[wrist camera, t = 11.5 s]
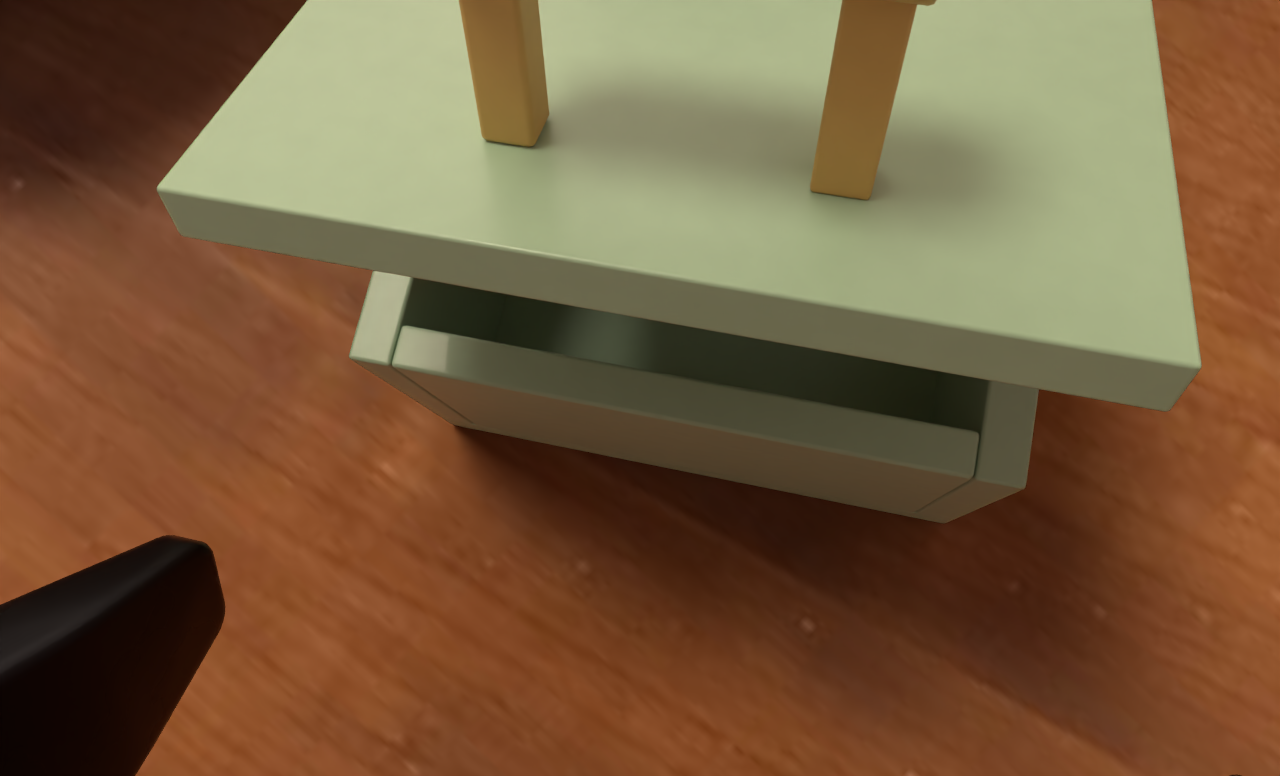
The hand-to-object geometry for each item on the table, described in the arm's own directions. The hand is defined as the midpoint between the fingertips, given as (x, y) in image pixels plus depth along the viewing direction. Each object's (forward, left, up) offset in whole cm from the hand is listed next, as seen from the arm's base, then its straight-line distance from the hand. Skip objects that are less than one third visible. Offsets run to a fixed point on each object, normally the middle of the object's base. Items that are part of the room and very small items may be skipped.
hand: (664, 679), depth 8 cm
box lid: (+2, +9, -4) cm, 10 cm away
